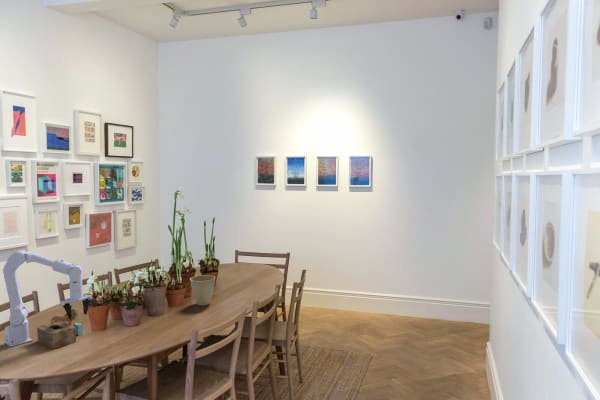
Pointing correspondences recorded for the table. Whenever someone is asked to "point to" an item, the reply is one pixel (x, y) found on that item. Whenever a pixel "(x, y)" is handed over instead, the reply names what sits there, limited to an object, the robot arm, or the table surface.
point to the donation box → (56, 334)
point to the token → (78, 329)
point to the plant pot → (202, 288)
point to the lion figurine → (66, 317)
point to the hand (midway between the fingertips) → (77, 316)
